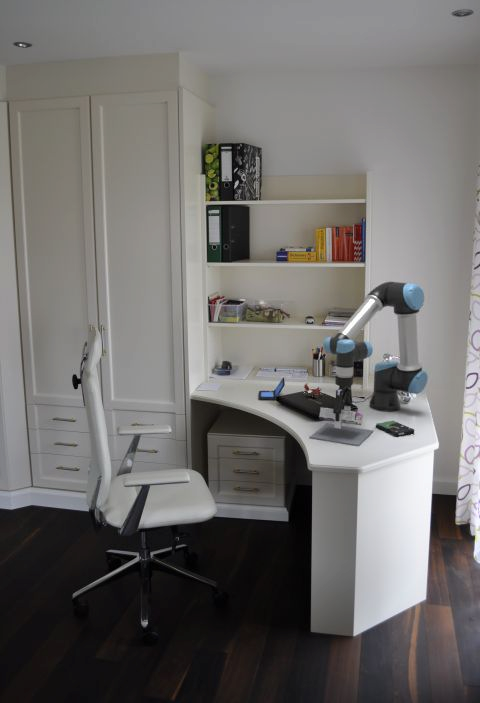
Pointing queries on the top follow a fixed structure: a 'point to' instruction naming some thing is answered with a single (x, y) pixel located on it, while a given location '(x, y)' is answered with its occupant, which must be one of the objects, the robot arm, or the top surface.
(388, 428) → the disk drive
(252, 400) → the top surface
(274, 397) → the handheld game console
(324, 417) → the candy bar box
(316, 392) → the figurine
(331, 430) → the slate mat
